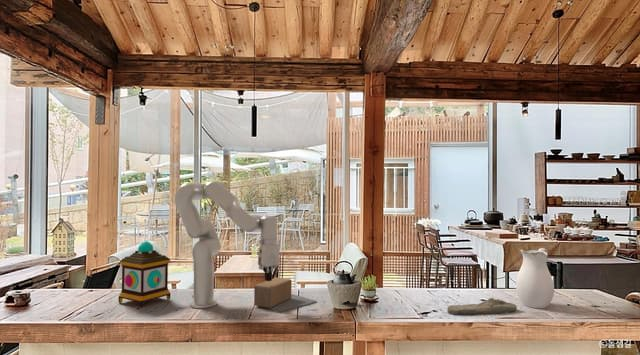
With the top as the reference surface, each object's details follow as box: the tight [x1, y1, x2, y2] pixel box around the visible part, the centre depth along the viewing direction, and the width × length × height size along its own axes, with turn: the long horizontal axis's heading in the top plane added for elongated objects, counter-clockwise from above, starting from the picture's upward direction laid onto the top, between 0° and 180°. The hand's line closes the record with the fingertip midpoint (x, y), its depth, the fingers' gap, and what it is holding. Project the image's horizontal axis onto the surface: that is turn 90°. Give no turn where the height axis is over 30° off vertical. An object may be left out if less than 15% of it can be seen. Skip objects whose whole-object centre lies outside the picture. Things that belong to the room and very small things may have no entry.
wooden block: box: [253, 277, 292, 309], centre depth 205 cm, size 10×10×20 cm
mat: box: [265, 293, 318, 313], centre depth 205 cm, size 18×24×1 cm
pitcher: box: [515, 247, 555, 309], centre depth 209 cm, size 24×17×28 cm
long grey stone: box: [447, 297, 518, 316], centre depth 195 cm, size 35×5×10 cm
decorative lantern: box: [117, 240, 171, 309], centre depth 206 cm, size 20×20×30 cm
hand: (268, 280), depth 197 cm, fingers closed
